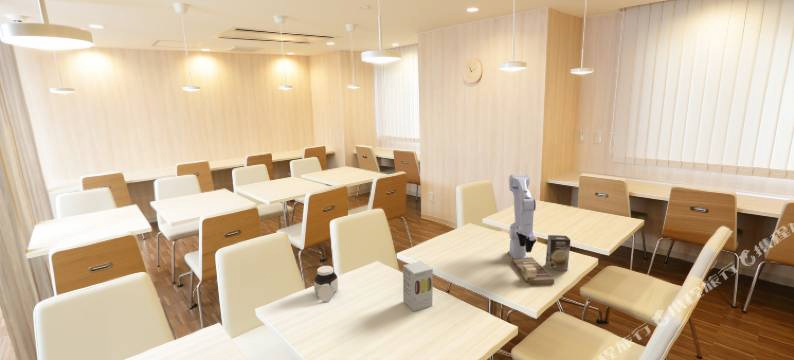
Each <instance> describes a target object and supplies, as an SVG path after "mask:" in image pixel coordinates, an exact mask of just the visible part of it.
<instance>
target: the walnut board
mask: <svg viewBox="0 0 794 360" xmlns="http://www.w3.org/2000/svg"><path fill="white" fill-rule="evenodd" d="M510 260H511V261H510V263H511V265H512V266H513V267H514V268H515V269H516V270H517V271H518V273H519V274H520V275H521V276H522V267H523V265H533V266H534V267H535V268H541V270H540V274H539V270H537V272H536V277H534V278H528V281H526V282H527V283H528V284H529V285H530V286H541V285H554V284H555V279H554V277H553V276H552V275H551V274H550V273H549V272H548V271H547V270H546V269H545V268H544V267H543V266H542V265H541V264H539V263H538V261H537V260H536V259H535V258H534V257H532V256H531V257H529V256H528V257H527V258H513V257H511V259H510Z"/></svg>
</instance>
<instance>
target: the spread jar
mask: <svg viewBox="0 0 794 360" xmlns="http://www.w3.org/2000/svg"><path fill="white" fill-rule="evenodd" d="M316 272H317V273H316V275H315V276H314V278H313V288H314V291H315V294H316V295H317V296H318V298H319V299H320V300H321V301H322V302H329V301H331V300H332V299H333V298H334V296H335V293H337V291H338V288H339V279H338V275H337V274H336V273H335V272H334V268H333V267H332V266H331V265H322V266H319V267H318V268H317V270H316ZM320 300H319V301H320Z"/></svg>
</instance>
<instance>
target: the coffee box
mask: <svg viewBox="0 0 794 360" xmlns="http://www.w3.org/2000/svg"><path fill="white" fill-rule="evenodd" d="M571 242H572V241H571V238H569V236H567V235H559V234H558V235H556V234H555V235H554V234H552V235H551V234H548V235H547V243H546V244H547V245H546V255H545V256H546V257H545V266H546V267H547V270H550V271H568V270H569V259H570V250H571V249H570V248H571Z"/></svg>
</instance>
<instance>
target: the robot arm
mask: <svg viewBox="0 0 794 360" xmlns="http://www.w3.org/2000/svg"><path fill="white" fill-rule="evenodd" d="M508 184H509V191H510V192H511V193H512V195H513V207H514V208H513V209H514V210H513V211H514V222H513V223H512V224H510V226H509V239H510V241H509V250H507V253H509V255H510V256H511V258H527V257H529V256H528V255H527V254H526V253H531V252H532V250H533V247H534V245H535V243H536V242H537V239H536V237H535V235H534V231H533V229H534V213H535V211H536V208H537V206H536V205H537V202H536V198H534V197H533V195H532V194H531V191H530V190H529V187H530V186H529V185H530V176H529V175H528V174H510V175H509V178H508Z"/></svg>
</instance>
